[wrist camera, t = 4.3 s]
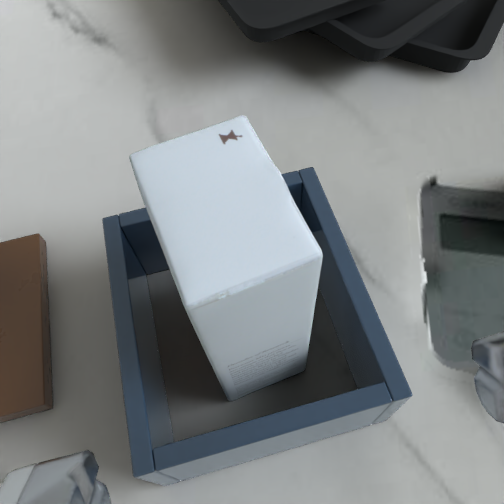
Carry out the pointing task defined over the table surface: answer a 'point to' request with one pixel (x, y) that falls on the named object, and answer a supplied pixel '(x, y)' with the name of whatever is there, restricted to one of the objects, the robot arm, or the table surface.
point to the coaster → (24, 329)
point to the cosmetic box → (234, 251)
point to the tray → (381, 26)
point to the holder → (270, 426)
